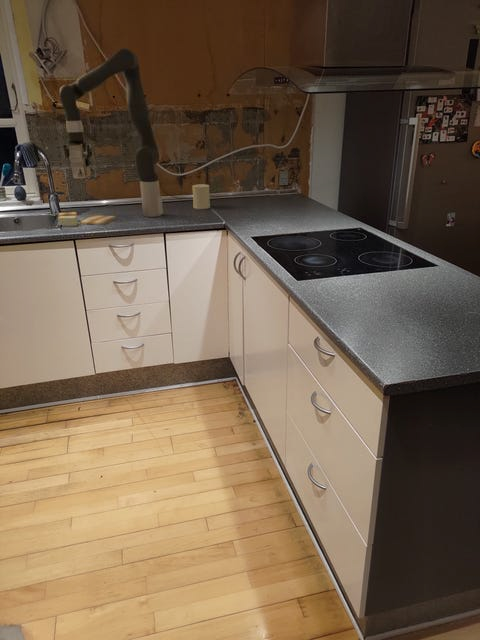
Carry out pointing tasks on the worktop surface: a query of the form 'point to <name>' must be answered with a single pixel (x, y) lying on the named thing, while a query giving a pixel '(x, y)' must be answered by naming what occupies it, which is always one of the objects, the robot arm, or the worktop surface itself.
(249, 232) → the worktop surface
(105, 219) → the birch board
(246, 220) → the worktop surface
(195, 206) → the can
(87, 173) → the coffee box
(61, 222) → the sage block
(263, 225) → the worktop surface
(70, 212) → the oak block
